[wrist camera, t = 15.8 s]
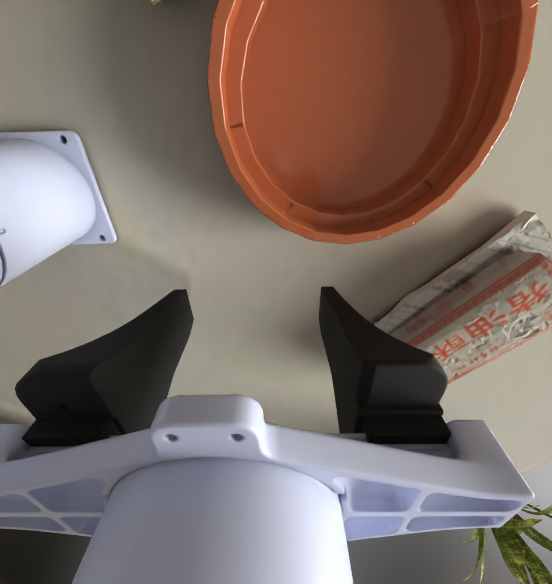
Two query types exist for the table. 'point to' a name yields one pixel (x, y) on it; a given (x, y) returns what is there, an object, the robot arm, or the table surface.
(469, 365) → the packaged product
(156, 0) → the eraser with green sleeve
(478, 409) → the table surface
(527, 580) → the house plant
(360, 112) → the bowl
